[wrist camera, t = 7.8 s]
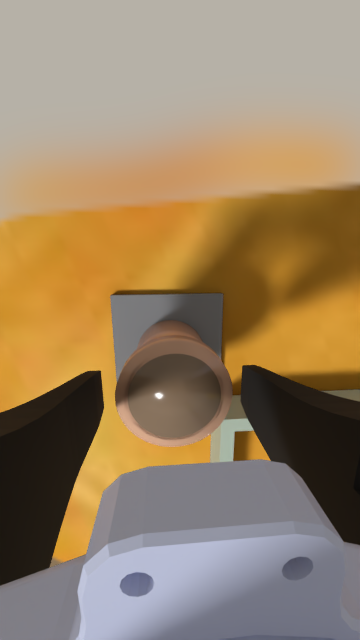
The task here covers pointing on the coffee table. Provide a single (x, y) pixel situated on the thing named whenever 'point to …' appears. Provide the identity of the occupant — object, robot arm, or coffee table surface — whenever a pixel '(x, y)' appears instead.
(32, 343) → the coffee table surface
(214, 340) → the slate pad
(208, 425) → the terracotta pot
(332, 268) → the coffee table surface
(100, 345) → the coffee table surface
